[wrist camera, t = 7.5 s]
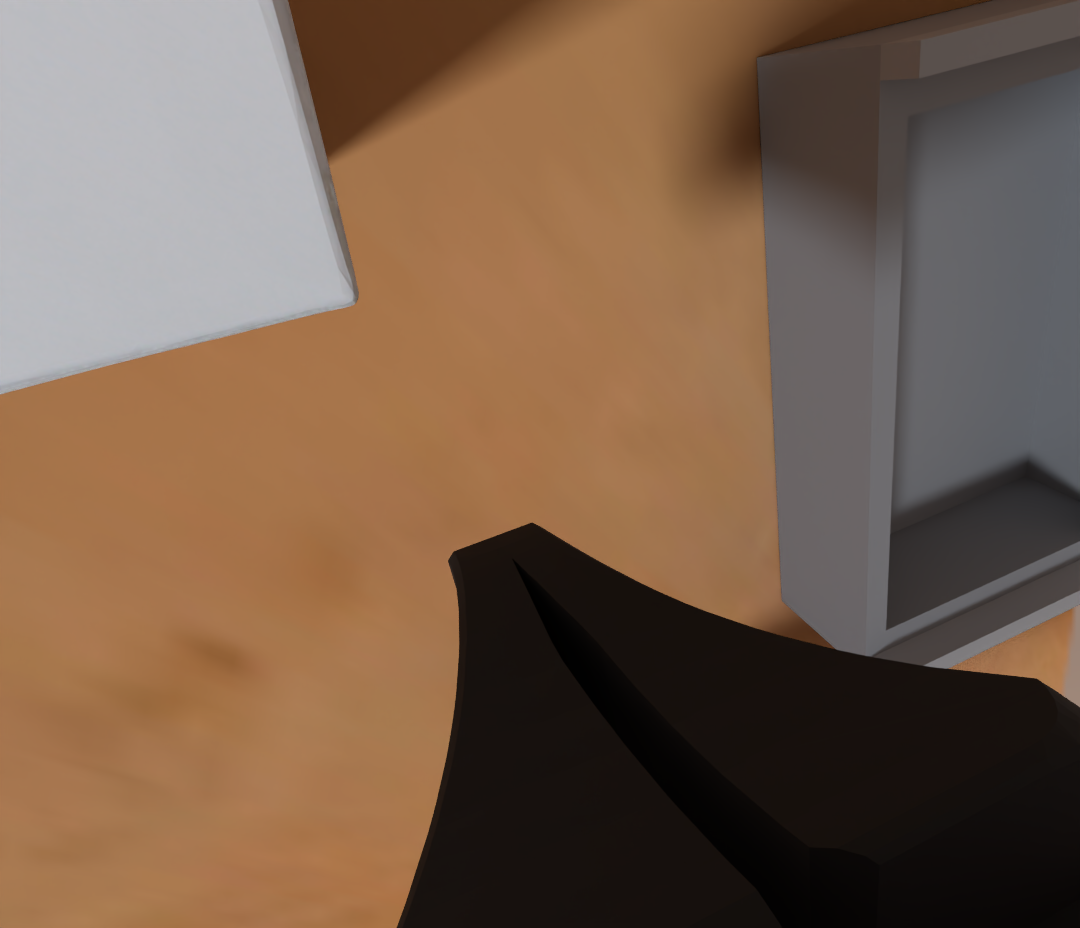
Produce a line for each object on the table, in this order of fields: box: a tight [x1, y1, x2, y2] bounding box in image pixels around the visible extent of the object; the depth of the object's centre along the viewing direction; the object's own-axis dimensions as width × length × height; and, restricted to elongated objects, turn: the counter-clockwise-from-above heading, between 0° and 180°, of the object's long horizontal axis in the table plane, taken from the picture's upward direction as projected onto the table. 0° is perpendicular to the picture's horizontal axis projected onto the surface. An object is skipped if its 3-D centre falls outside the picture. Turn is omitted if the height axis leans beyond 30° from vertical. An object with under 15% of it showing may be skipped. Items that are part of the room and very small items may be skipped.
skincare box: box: [0, 0, 359, 394], centre depth 11 cm, size 6×4×12 cm
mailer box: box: [757, 0, 1080, 669], centre depth 23 cm, size 19×12×6 cm, turn 12°
